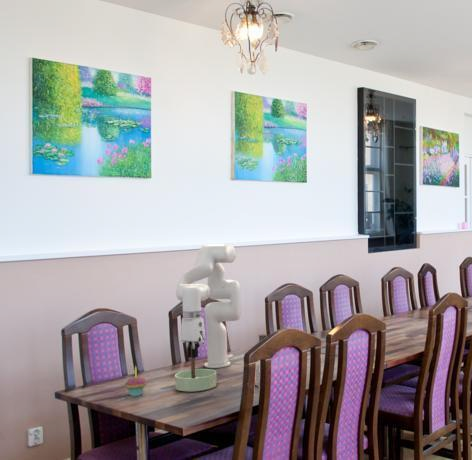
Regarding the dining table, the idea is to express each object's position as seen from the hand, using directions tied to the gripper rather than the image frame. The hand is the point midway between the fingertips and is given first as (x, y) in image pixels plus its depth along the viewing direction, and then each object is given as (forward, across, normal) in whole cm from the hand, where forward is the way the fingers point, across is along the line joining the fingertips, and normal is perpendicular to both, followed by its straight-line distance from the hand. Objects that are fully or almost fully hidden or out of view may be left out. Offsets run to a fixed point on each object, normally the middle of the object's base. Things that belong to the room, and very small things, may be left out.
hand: (192, 357), depth 278 cm
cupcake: (+14, +15, +18) cm, 27 cm away
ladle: (+12, 0, 0) cm, 12 cm away
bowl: (+14, 0, -1) cm, 14 cm away
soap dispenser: (+14, -25, -18) cm, 33 cm away
